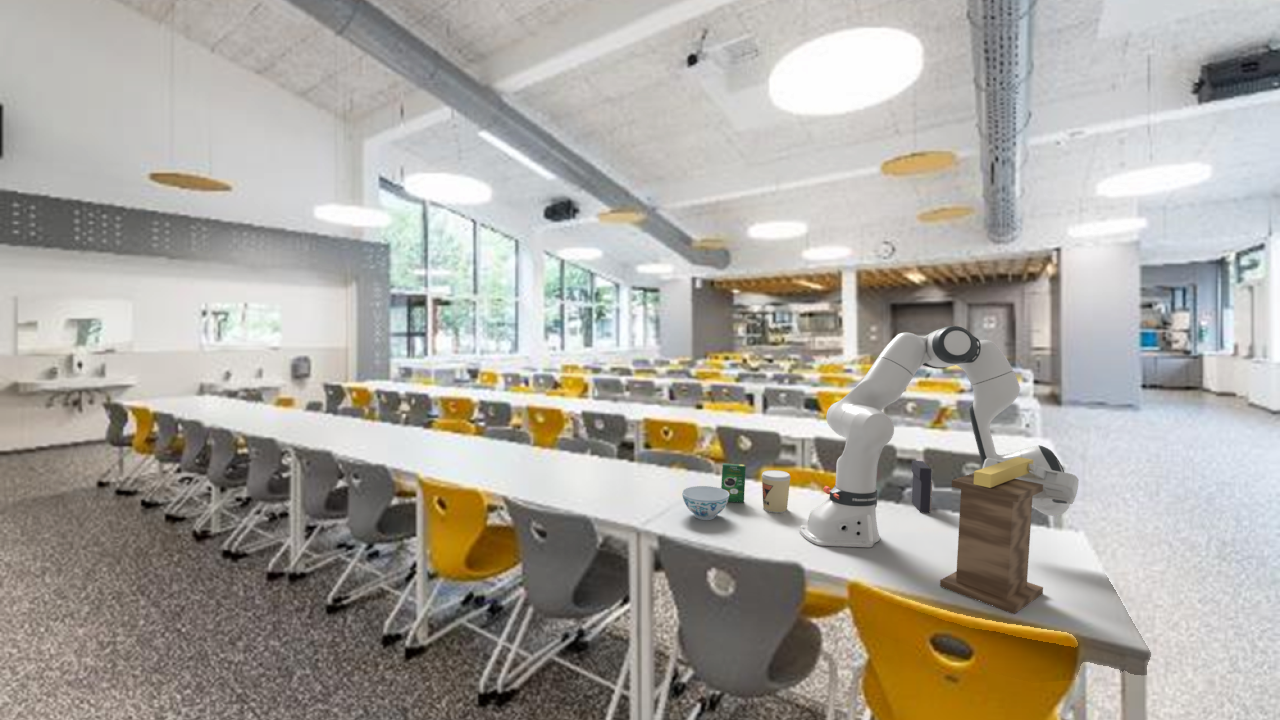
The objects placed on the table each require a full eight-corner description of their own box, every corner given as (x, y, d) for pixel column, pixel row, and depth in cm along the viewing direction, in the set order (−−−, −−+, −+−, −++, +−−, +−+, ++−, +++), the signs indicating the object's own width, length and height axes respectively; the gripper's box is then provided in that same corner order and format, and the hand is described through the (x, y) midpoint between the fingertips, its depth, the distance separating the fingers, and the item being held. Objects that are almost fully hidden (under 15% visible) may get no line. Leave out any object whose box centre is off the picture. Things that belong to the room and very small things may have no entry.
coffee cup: (757, 504, 199) (758, 470, 198) (784, 504, 200) (785, 469, 199) (765, 514, 190) (766, 477, 189) (793, 513, 191) (794, 477, 190)
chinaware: (702, 505, 198) (703, 483, 197) (738, 517, 187) (738, 493, 186) (671, 515, 187) (672, 492, 187) (707, 528, 177) (708, 503, 176)
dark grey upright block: (932, 513, 192) (934, 468, 191) (918, 512, 193) (920, 468, 192) (922, 503, 203) (925, 460, 202) (909, 502, 204) (911, 460, 203)
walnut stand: (1014, 614, 127) (1021, 497, 125) (940, 586, 140) (945, 479, 138) (1042, 593, 137) (1049, 484, 135) (970, 569, 149) (976, 469, 147)
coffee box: (744, 500, 204) (745, 463, 203) (744, 503, 201) (745, 465, 200) (720, 499, 204) (721, 462, 203) (721, 502, 201) (722, 464, 200)
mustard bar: (990, 487, 130) (990, 474, 130) (973, 484, 133) (974, 471, 133) (1032, 471, 144) (1033, 459, 144) (1016, 468, 147) (1017, 456, 147)
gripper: (996, 464, 160) (977, 444, 152) (1086, 482, 144) (1070, 461, 136) (990, 485, 159) (971, 467, 151) (1080, 506, 142) (1064, 486, 135)
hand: (1019, 464), depth 143 cm, fingers closed on mustard bar, 3 cm apart
